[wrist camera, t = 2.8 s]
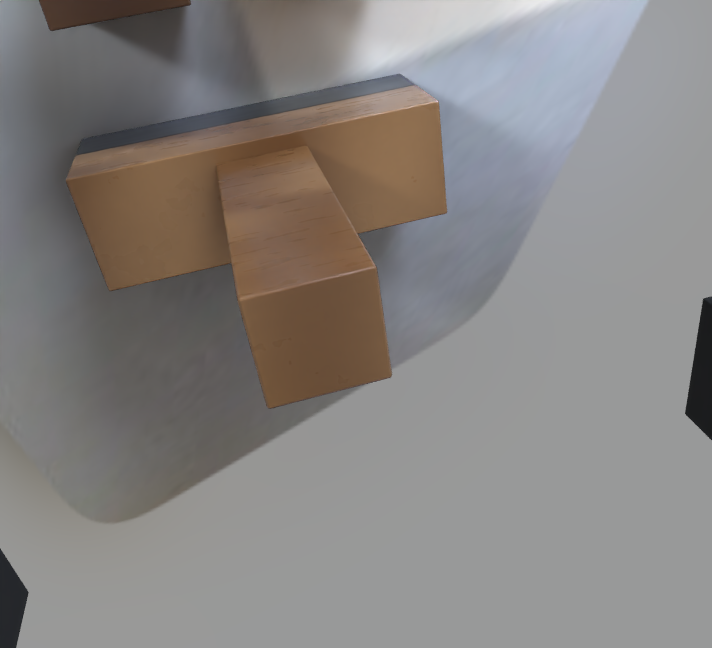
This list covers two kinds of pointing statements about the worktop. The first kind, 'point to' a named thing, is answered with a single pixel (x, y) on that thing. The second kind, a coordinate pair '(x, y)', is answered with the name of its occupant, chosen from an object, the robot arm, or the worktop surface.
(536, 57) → the worktop surface
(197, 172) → the wooden t-shaped block
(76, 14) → the walnut block
